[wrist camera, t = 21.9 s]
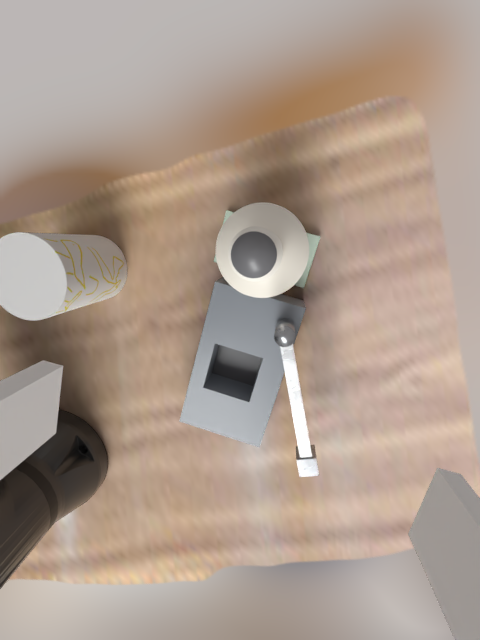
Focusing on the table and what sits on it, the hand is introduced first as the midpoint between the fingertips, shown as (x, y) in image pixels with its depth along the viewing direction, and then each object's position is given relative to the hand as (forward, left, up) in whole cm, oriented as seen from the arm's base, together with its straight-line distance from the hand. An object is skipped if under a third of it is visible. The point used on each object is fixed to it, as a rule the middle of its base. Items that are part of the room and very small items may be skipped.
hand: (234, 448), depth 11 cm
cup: (-22, -2, -30) cm, 38 cm away
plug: (-2, +6, -29) cm, 30 cm away
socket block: (-1, -8, -30) cm, 31 cm away
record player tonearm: (+5, -8, -25) cm, 26 cm away
